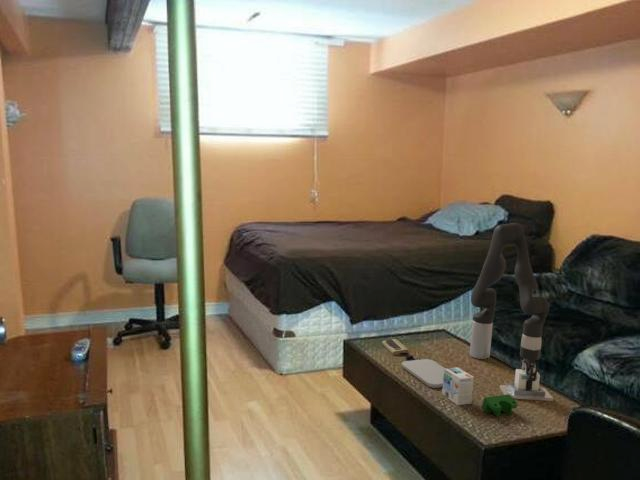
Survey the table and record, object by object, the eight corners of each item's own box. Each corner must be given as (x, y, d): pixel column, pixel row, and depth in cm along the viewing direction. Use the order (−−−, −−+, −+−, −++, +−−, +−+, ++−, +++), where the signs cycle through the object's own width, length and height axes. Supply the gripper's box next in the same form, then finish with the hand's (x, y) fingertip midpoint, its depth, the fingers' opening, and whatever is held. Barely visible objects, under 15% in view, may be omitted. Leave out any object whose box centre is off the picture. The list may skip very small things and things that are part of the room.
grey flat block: (499, 387, 227) (500, 380, 227) (544, 390, 226) (545, 383, 226) (506, 397, 218) (507, 390, 217) (552, 401, 217) (553, 393, 216)
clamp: (492, 427, 202) (490, 410, 198) (483, 416, 207) (480, 399, 203) (520, 413, 204) (518, 396, 200) (510, 402, 209) (508, 385, 205)
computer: (381, 345, 275) (381, 338, 274) (396, 344, 277) (397, 338, 276) (392, 356, 260) (393, 349, 259) (408, 355, 262) (409, 348, 261)
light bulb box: (441, 394, 218) (443, 368, 217) (455, 392, 221) (457, 366, 219) (457, 405, 208) (459, 378, 207) (472, 403, 211) (474, 376, 209)
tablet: (430, 390, 223) (430, 384, 222) (398, 366, 247) (398, 361, 246) (464, 385, 229) (464, 380, 228) (429, 363, 253) (430, 358, 252)
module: (514, 385, 224) (515, 369, 223) (534, 386, 224) (535, 370, 223) (517, 390, 219) (519, 373, 218) (538, 391, 219) (540, 375, 218)
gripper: (515, 339, 226) (511, 378, 229) (526, 351, 212) (522, 393, 215) (534, 340, 226) (530, 380, 228) (546, 352, 212) (541, 394, 214)
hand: (526, 386), depth 222 cm, fingers closed on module, 5 cm apart
